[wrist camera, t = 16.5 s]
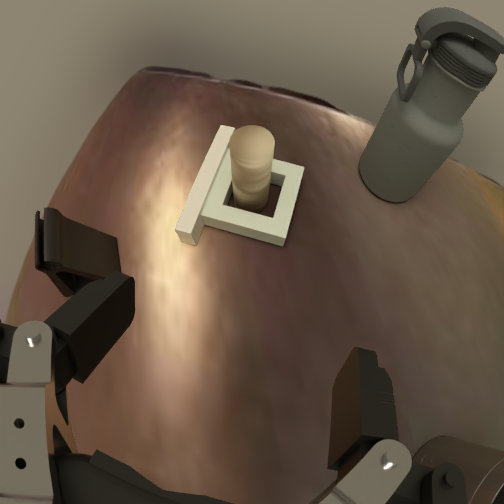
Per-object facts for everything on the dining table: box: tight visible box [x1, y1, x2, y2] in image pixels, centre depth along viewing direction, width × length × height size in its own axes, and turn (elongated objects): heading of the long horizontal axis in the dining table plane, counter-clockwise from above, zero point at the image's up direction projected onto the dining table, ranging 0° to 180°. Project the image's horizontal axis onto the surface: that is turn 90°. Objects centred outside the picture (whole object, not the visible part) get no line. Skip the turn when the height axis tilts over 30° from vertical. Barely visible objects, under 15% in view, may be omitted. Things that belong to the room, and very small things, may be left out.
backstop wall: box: [175, 125, 235, 246], centre depth 39 cm, size 2×16×4 cm, turn 163°
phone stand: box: [35, 208, 121, 297], centre depth 31 cm, size 9×6×12 cm, turn 105°
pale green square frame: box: [201, 148, 304, 247], centre depth 39 cm, size 10×10×3 cm
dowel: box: [229, 125, 275, 214], centre depth 35 cm, size 4×4×12 cm
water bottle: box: [359, 7, 504, 202], centre depth 29 cm, size 10×10×28 cm
